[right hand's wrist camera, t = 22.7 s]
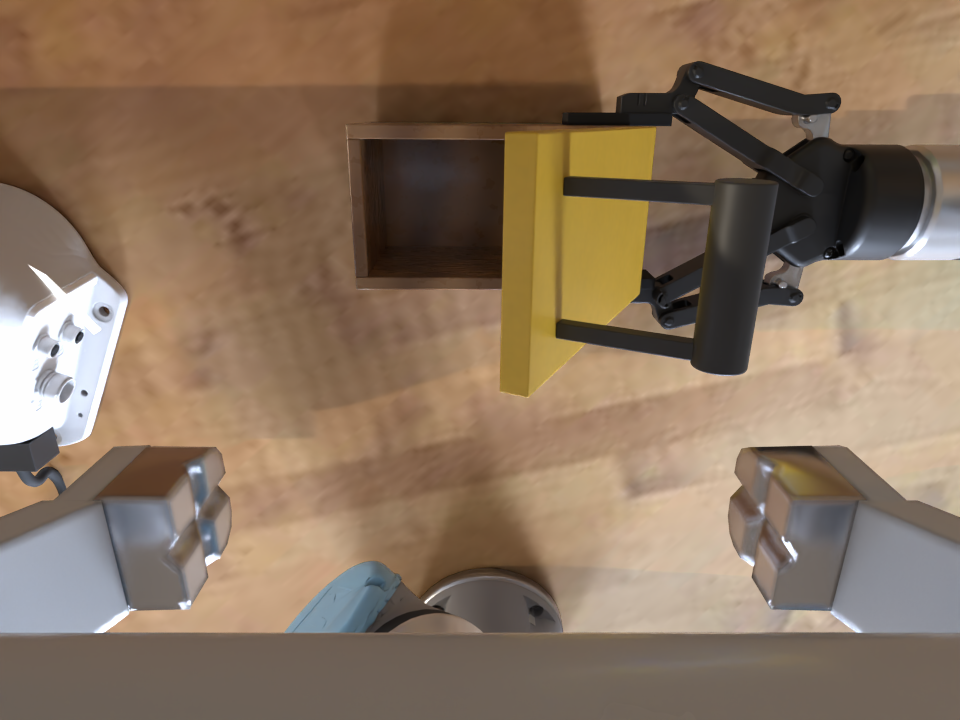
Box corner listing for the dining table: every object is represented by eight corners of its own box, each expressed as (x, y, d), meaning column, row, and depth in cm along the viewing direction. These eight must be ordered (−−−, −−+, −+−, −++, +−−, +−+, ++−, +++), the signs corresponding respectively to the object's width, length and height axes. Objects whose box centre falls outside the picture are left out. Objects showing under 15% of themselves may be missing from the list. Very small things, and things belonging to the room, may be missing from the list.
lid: (499, 392, 25) (730, 441, 22) (504, 131, 22) (781, 137, 18) (619, 291, 40) (770, 310, 36) (634, 126, 37) (802, 128, 33)
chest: (378, 253, 50) (355, 289, 40) (372, 121, 47) (345, 123, 37) (594, 254, 51) (627, 290, 40) (604, 123, 47) (642, 125, 37)
